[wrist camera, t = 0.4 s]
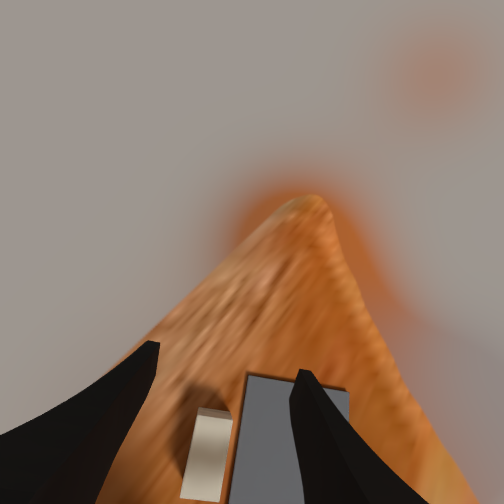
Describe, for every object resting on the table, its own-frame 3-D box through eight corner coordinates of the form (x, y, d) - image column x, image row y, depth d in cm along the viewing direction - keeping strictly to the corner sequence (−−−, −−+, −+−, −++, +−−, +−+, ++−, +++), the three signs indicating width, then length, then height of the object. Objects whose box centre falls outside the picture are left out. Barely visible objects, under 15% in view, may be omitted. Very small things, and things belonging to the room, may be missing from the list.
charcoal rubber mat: (344, 549, 31) (346, 552, 30) (222, 537, 29) (223, 541, 29) (347, 391, 37) (349, 392, 37) (248, 374, 36) (248, 375, 35)
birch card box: (217, 482, 31) (219, 502, 27) (183, 478, 31) (179, 497, 27) (229, 411, 34) (232, 420, 30) (198, 406, 33) (197, 414, 30)
